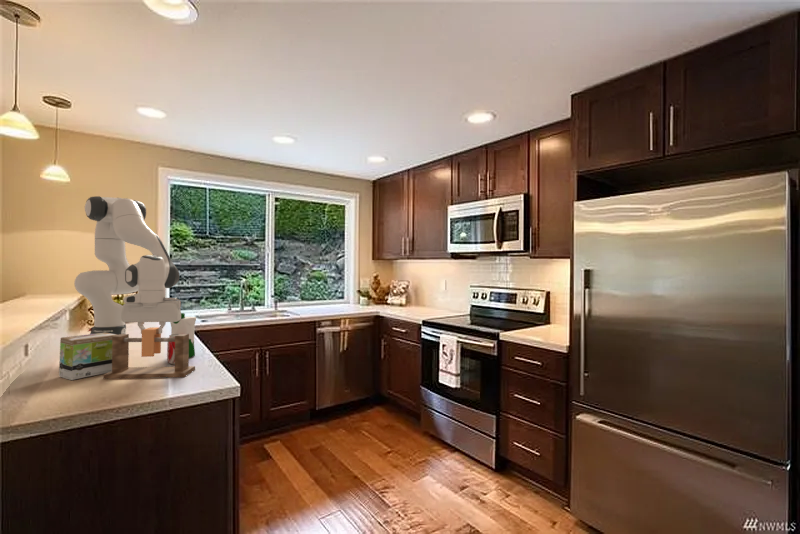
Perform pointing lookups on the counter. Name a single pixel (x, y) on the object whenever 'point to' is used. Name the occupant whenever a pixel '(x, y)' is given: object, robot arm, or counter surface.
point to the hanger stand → (123, 371)
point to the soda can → (171, 350)
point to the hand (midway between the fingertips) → (151, 333)
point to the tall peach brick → (150, 342)
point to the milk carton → (185, 330)
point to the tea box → (85, 355)
